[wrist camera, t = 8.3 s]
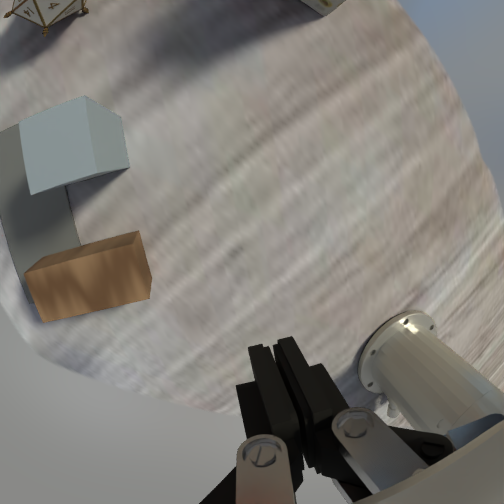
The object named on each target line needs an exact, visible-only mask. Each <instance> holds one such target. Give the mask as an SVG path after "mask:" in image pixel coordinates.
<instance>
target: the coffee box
mask: <svg viewBox="0 0 504 504" xmlns="http://www.w3.org/2000/svg"><path fill="white" fill-rule="evenodd" d="M301 1H302V2H304V3H305V4H307V5H308V6H310V7H311V8H312V9H314V10H315V11H317V12H318V13H319V14H321V15H323V16H327V15H328V14H330V13H331V12H332V11H333V10H335V9H336V8H337V7H338V6H339V5H341V4H342V3H343V2H344V1H346V0H301Z"/></svg>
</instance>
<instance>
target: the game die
mask: <svg viewBox="0 0 504 504" xmlns="http://www.w3.org/2000/svg"><path fill="white" fill-rule="evenodd" d="M85 2H86V0H14V3H13V7H12V11H10V12H8V13H6V14H5V16H4V17H3V18H7V17H9V16H11V14H15V15H18V16H20V17H22V18H24V19H26V20H29V21H31V22H33V23H35V24H37V25H39V26H41V27H43V28H44V30H43V33H42V34H43V35H44V37H45V36H46V35H47V33H48V31H49V30H48V27H50V26H51V25H53V24H55V23H57V22H58V21H60V20H62V19H64V18H66V17H68V16H70V15H71V14H73V13H75V12H77V11H79V10H82V12H84V13H89V12H88V8H86V7H84V5H85Z"/></svg>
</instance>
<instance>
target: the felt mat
mask: <svg viewBox="0 0 504 504" xmlns="http://www.w3.org/2000/svg"><path fill="white" fill-rule="evenodd" d="M0 216H1V220H2V224H3V228H4V232H5V235H6V239H7V242H8V245H9V249H10V252H11V255H12V258H13V261H14V264H15V267H16V270H17V273H18V276H19V278H20V281H21V284H22V286H23V289H24V292H25V294H26V297H27V299H28V302H29V304H30V303H34V300H33V298H32V295H31V293H30V290H29V287H28V285H27V282H26V279H25V277H24V273H25V272H26V271H27V270H28V269H29V268H30V267H31V266H33V265H34V264H35V263H36V262H37V261H38V260H40V259H41V258H42V257H44V256H48V255H51V254H55V253H58V252H62V251H65V250H68V249H72V248H76V247H79V246H81V244H80V241H79V237H78V234H77V230H76V227H75V223H74V219H73V215H72V211H71V207H70V203H69V199H68V195H67V190H66V186H61V187H57V188H54V189H50V190H47V191H43V192H40V193H37V194H33V195H31V194H30V189H29V185H28V180H27V175H26V169H25V164H24V158H23V152H22V145H21V138H20V130H19V123H18V124H16V125H14V126H12V127H10V128H7V129H5V130H3V131H1V132H0Z"/></svg>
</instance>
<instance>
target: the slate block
mask: <svg viewBox="0 0 504 504" xmlns="http://www.w3.org/2000/svg"><path fill="white" fill-rule="evenodd" d="M19 130H20V138H21V145H22V152H23V158H24V164H25V169H26V175H27V180H28V185H29V189H30V194H31V195H33V194H37V193H40V192H43V191H47V190H50V189H54V188H57V187H61V186H65V185H68V184H72V183H76V182H80V181H84V180H87V179H90V178H94V177H97V176H100V175H104V174H107V173H111V172H114V171H118V170H122V169H125V168H129V167H130V164H129V159H128V154H127V149H126V143H125V138H124V132H123V126H122V120H121V117H120V116H119V115H117V114H115V113H114V112H112V111H110V110H109V109H107V108H105V107H104V106H102V105H100V104H99V103H97V102H95V101H94V100H92V99H90V98H89V97H87V96H85V95H84V96H81V97H78V98H76V99H73V100H70V101H67V102H65V103H62V104H59V105H57V106H54V107H52V108H49V109H47V110H44V111H42V112H40V113H37V114H35V115H33V116H30V117H28V118H26V119H24V120H22V121H19Z"/></svg>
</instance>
